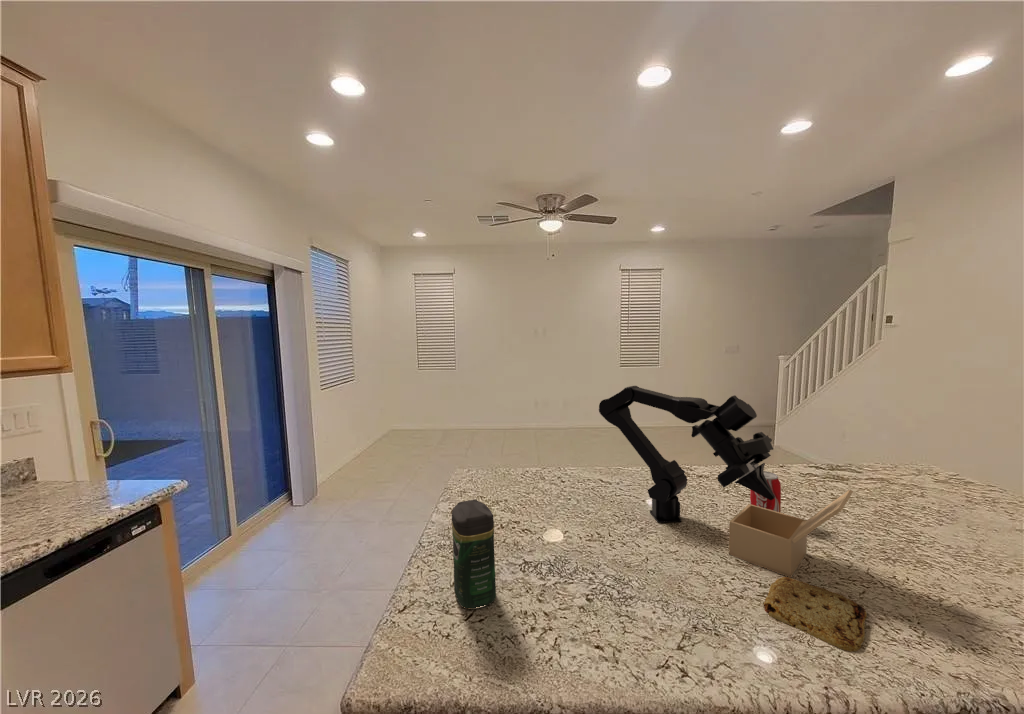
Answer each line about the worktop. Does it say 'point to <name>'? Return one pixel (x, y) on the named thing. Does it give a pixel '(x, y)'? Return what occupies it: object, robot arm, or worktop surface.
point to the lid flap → (823, 515)
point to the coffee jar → (473, 554)
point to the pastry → (817, 612)
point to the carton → (767, 539)
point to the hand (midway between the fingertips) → (773, 499)
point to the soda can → (776, 489)
